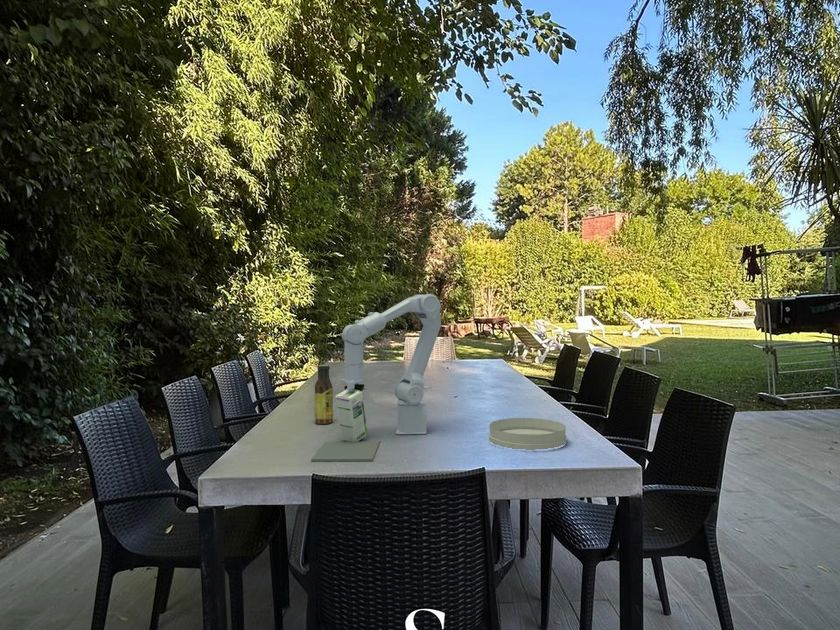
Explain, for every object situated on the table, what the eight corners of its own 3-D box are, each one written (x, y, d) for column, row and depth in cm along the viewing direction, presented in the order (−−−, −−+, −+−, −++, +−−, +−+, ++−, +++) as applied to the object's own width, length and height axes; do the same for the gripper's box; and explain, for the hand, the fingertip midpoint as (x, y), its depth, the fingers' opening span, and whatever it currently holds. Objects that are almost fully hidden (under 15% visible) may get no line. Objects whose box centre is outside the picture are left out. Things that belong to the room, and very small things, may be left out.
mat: (379, 443, 159) (379, 441, 159) (372, 461, 141) (372, 459, 141) (325, 443, 160) (325, 441, 160) (311, 461, 142) (311, 459, 142)
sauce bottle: (329, 425, 184) (328, 366, 184) (311, 424, 185) (310, 366, 185) (336, 421, 191) (335, 364, 190) (319, 420, 192) (318, 364, 191)
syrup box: (356, 443, 160) (350, 398, 155) (340, 439, 163) (334, 395, 158) (367, 434, 164) (362, 390, 160) (352, 430, 167) (347, 387, 163)
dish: (480, 449, 153) (480, 431, 153) (498, 431, 174) (498, 415, 173) (561, 456, 145) (561, 437, 145) (570, 436, 165) (570, 420, 165)
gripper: (345, 361, 173) (345, 404, 173) (336, 367, 158) (337, 413, 159) (367, 361, 173) (367, 404, 173) (360, 366, 158) (361, 413, 158)
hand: (354, 409), depth 166 cm, fingers closed
